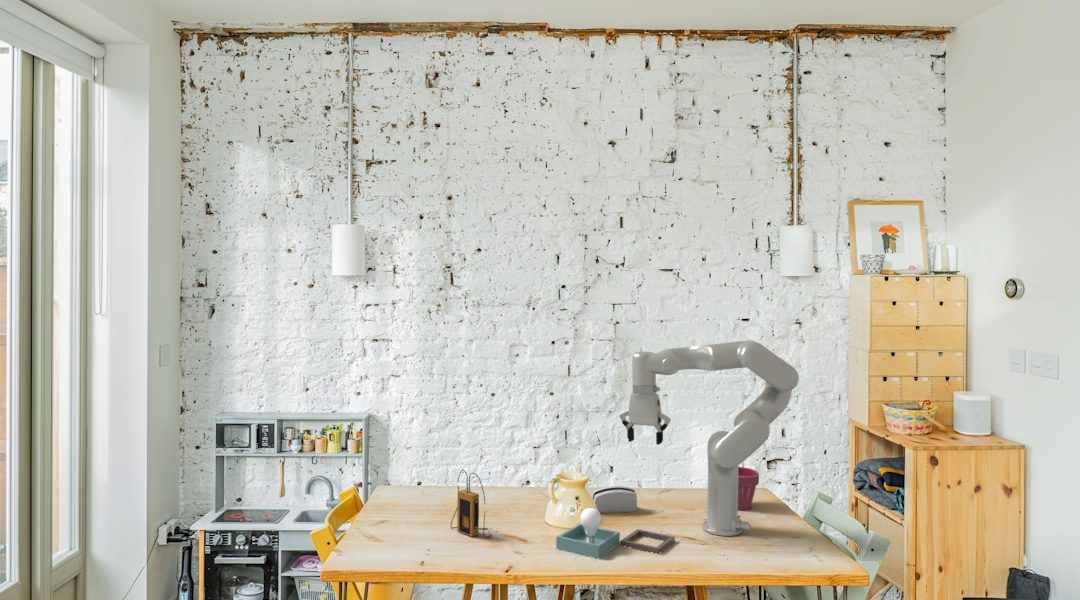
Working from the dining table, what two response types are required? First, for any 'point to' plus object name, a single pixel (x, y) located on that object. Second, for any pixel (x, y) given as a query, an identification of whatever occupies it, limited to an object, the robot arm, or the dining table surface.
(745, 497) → the plant pot
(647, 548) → the dark brown square frame
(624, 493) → the grey rounded block
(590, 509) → the lightbulb
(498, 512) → the dining table surface
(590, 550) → the parts tray
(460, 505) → the multimeter
